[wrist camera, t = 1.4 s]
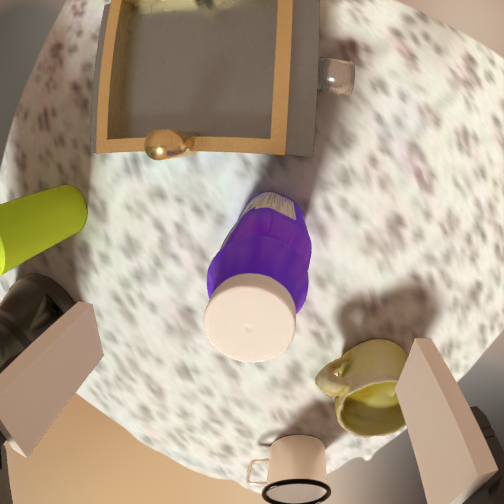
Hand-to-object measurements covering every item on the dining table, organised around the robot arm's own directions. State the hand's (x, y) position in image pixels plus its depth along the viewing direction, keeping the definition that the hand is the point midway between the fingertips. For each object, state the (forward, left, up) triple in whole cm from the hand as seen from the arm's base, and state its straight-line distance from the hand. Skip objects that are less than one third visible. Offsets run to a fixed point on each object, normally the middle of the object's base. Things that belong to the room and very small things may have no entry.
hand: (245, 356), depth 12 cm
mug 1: (+6, -34, -19) cm, 40 cm away
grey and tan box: (-5, +14, -19) cm, 24 cm away
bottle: (0, 0, -19) cm, 19 cm away
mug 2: (+12, -15, -20) cm, 27 cm away
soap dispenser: (-23, +1, -19) cm, 30 cm away
